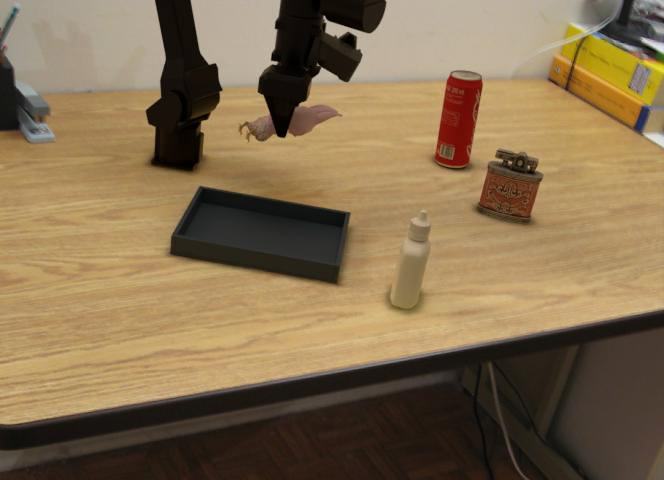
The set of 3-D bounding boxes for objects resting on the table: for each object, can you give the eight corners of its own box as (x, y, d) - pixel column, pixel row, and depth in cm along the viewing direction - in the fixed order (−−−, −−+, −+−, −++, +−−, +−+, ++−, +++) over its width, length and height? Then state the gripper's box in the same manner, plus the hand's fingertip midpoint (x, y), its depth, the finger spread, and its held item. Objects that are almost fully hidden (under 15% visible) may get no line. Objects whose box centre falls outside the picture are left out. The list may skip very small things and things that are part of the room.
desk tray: (170, 253, 109) (171, 235, 108) (198, 202, 122) (199, 185, 121) (336, 284, 108) (340, 266, 106) (347, 228, 121) (350, 212, 119)
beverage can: (467, 172, 143) (489, 84, 135) (428, 165, 143) (448, 76, 135) (468, 159, 148) (490, 72, 140) (430, 151, 148) (449, 65, 140)
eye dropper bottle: (375, 296, 106) (394, 209, 100) (404, 283, 110) (423, 197, 104) (403, 313, 104) (423, 224, 98) (431, 298, 107) (453, 212, 101)
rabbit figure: (253, 158, 116) (350, 133, 121) (251, 117, 112) (352, 93, 117) (234, 138, 120) (329, 115, 125) (231, 98, 117) (329, 76, 122)
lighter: (530, 216, 131) (549, 155, 126) (528, 226, 128) (547, 163, 123) (478, 203, 133) (494, 142, 128) (474, 212, 130) (490, 150, 125)
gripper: (356, 43, 102) (335, 165, 110) (370, 5, 118) (351, 115, 126) (264, 26, 103) (250, 148, 111) (289, -9, 119) (276, 101, 127)
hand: (286, 127), depth 119 cm, fingers closed on rabbit figure, 7 cm apart
